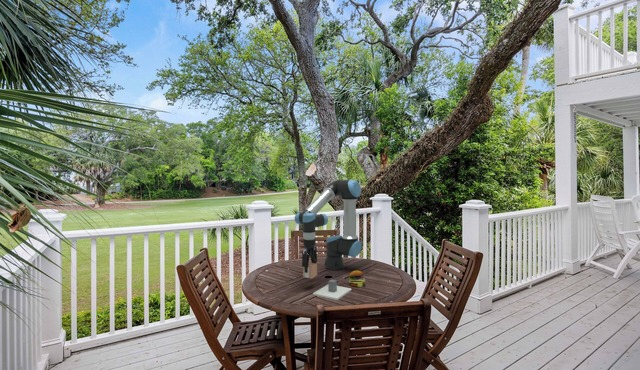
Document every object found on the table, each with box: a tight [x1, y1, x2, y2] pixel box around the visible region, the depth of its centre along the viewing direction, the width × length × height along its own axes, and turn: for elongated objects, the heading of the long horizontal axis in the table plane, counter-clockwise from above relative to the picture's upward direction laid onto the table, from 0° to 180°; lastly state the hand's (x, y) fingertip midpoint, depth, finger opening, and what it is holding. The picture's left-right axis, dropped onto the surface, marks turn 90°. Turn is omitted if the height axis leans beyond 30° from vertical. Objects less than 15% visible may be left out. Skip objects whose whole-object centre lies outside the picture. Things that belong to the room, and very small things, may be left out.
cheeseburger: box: [348, 270, 366, 288], centre depth 215 cm, size 10×11×10 cm
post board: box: [312, 279, 352, 301], centre depth 201 cm, size 18×16×7 cm
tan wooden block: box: [302, 261, 318, 279], centre depth 209 cm, size 6×6×8 cm
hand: (310, 275), depth 209 cm, fingers closed on tan wooden block, 6 cm apart
